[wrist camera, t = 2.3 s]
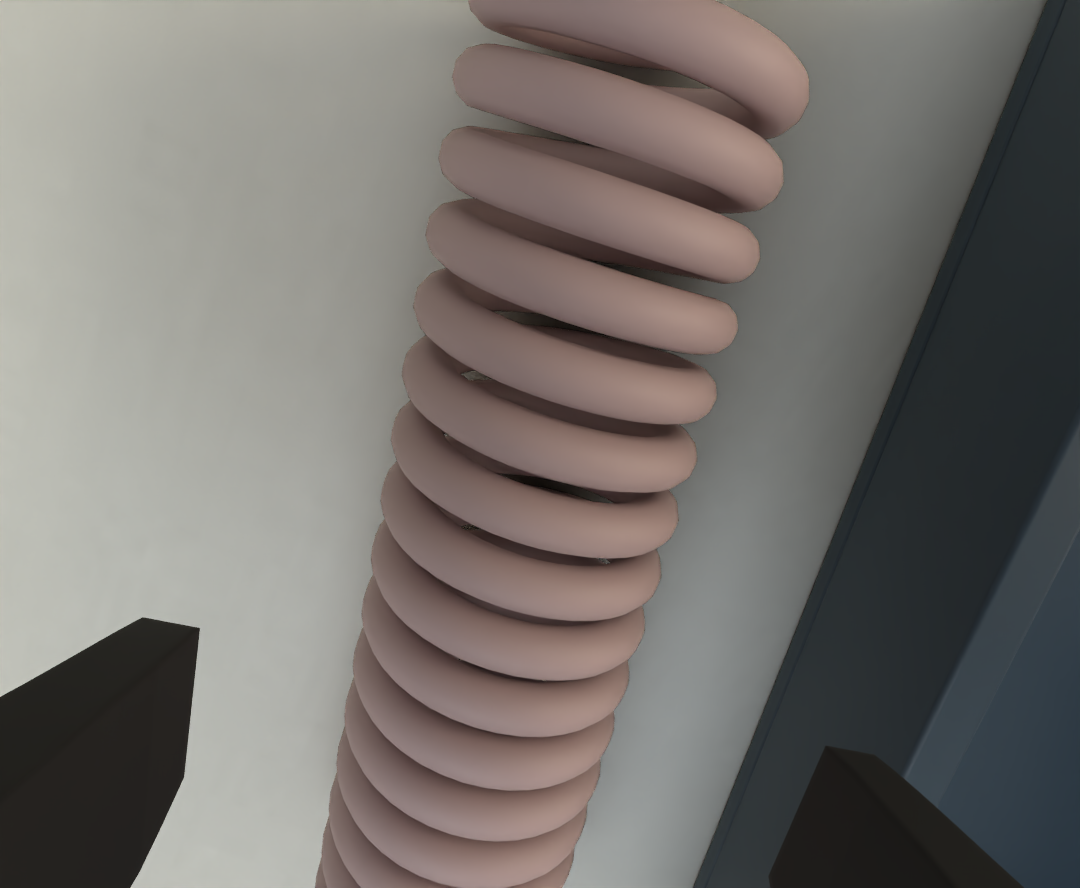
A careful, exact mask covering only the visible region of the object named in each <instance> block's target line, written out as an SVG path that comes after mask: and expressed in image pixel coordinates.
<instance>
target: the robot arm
mask: <svg viewBox="0 0 1080 888" xmlns="http://www.w3.org/2000/svg"><path fill="white" fill-rule="evenodd" d="M199 631H200V628H196V627H191V626H186V625H180V624H175V623H170V622H164V621H159V620H154V619H148V618H143V617H142V618H141V619H139V620H137V621H135V622H133V623H131V624H129V625H127V626H126V627H124V628H122V629H120V630H118V631H117V632H115V633H113V634H111V635H109V636H108V637H106V638H104V639H102V640H101V641H99V642H97V643H95V644H94V645H92V646H90V647H88V648H87V649H85V650H83V651H81V652H80V653H78V654H76V655H74V656H73V657H71V658H69V659H67V660H66V661H64V662H62V663H60V664H59V665H57V666H55V667H53V668H52V669H50V670H48V671H46V672H44V673H43V674H41V675H39V676H37V677H36V678H34V679H32V680H30V681H28V682H27V683H25V684H23V685H21V686H19V687H18V688H16V689H14V690H12V691H10V692H9V693H7V694H5V695H3V696H1V697H0V888H130V887H131V885H132V884H133V882H134V880H135V879H136V877H137V875H138V873H139V872H140V870H141V868H142V866H143V864H144V862H145V859H146V857H147V855H148V853H149V851H150V849H151V847H152V845H153V843H154V841H155V839H156V837H157V835H158V832H159V830H160V828H161V826H162V824H163V822H164V820H165V817H166V815H167V813H168V811H169V809H170V807H171V804H172V802H173V800H174V798H175V796H176V794H177V791H178V789H179V787H180V785H181V783H182V780H183V778H184V772H185V763H186V753H187V744H188V734H189V725H190V716H191V706H192V697H193V687H194V678H195V669H196V659H197V650H198V640H199ZM768 878H769V883H770V888H1024V887H1023V886H1022V885H1021V884H1020V883H1019V882H1018V881H1016V880H1015V879H1014V878H1013V877H1012V876H1011V875H1010V874H1009V873H1008V872H1007V871H1006V870H1004V869H1003V868H1002V867H1001V866H1000V865H999V864H998V863H997V862H996V861H995V860H994V859H992V858H991V857H990V856H989V855H988V854H987V853H986V852H985V851H984V850H983V849H982V848H980V847H979V846H978V845H977V844H976V843H975V842H974V841H973V840H972V839H971V838H970V837H968V836H967V835H966V834H965V833H964V832H963V831H962V830H961V829H960V828H959V827H958V826H957V825H955V824H954V823H953V822H952V821H951V820H950V819H949V818H948V817H947V816H946V815H944V814H943V813H942V812H941V811H940V810H939V809H938V808H937V807H936V806H935V805H933V804H932V803H931V802H930V801H929V800H928V799H927V798H926V797H924V796H923V795H922V794H921V793H920V792H919V791H918V790H917V789H915V788H914V787H913V786H912V785H911V784H910V783H909V782H907V781H906V780H905V779H904V778H903V777H902V776H900V775H899V774H898V773H897V772H896V771H894V770H893V769H892V768H891V767H890V766H888V765H887V764H886V763H885V762H883V761H882V760H881V759H879V758H878V757H877V756H876V755H874V754H869V753H863V752H858V751H853V750H847V749H842V748H837V747H831V746H825V748H824V750H823V752H822V755H821V757H820V759H819V762H818V764H817V766H816V768H815V771H814V773H813V775H812V778H811V780H810V782H809V784H808V787H807V789H806V791H805V793H804V796H803V798H802V800H801V803H800V805H799V807H798V809H797V812H796V814H795V816H794V819H793V821H792V823H791V825H790V828H789V830H788V832H787V835H786V837H785V839H784V841H783V844H782V846H781V848H780V851H779V853H778V855H777V857H776V860H775V862H774V864H773V866H772V869H771V871H770V873H769V876H768Z"/></svg>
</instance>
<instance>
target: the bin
mask: <svg viewBox="0 0 1080 888" xmlns="http://www.w3.org/2000/svg"><path fill="white" fill-rule="evenodd" d="M825 746H831V747H837V748H842V749H847V750H853V751H858V752H863V753H869V754H874V755H876V756H877V757H878V758H879V759H881V760H882V761H883V762H885V763H886V764H887V765H888V766H890V767H891V768H892V769H893V770H894V771H896V772H897V773H898V774H899V775H900V776H902V777H903V778H904V779H905V780H906V781H907V782H909V783H910V784H911V785H912V786H913V787H914V788H915V789H917V790H918V791H919V792H920V793H921V794H922V795H923V796H924V797H926V798H927V799H928V800H929V801H930V802H931V803H932V804H933V805H935V806H936V807H937V808H938V809H939V810H940V811H941V812H942V813H943V814H944V815H946V816H947V817H948V818H949V819H950V820H951V821H952V822H953V823H954V824H955V825H957V826H958V827H959V828H960V829H961V830H962V831H963V832H964V833H965V834H966V835H967V836H968V837H970V838H971V839H972V840H973V841H974V842H975V843H976V844H977V845H978V846H979V847H980V848H982V849H983V850H984V851H985V852H986V853H987V854H988V855H989V856H990V857H991V858H992V859H994V860H995V861H996V862H997V863H998V864H999V865H1000V866H1001V867H1002V868H1003V869H1004V870H1006V871H1007V872H1008V873H1009V874H1010V875H1011V876H1012V877H1013V878H1014V879H1015V880H1016V881H1018V882H1019V883H1020V884H1021V885H1022V886H1023V887H1024V888H1080V0H1048V1H1047V3H1046V6H1045V8H1044V11H1043V13H1042V16H1041V18H1040V21H1039V23H1038V26H1037V28H1036V31H1035V33H1034V36H1033V38H1032V41H1031V43H1030V46H1029V48H1028V51H1027V53H1026V56H1025V58H1024V61H1023V63H1022V66H1021V68H1020V71H1019V73H1018V76H1017V78H1016V81H1015V83H1014V86H1013V88H1012V91H1011V93H1010V96H1009V98H1008V101H1007V103H1006V106H1005V108H1004V111H1003V113H1002V116H1001V118H1000V121H999V123H998V126H997V128H996V131H995V134H994V136H993V139H992V141H991V144H990V146H989V149H988V151H987V154H986V156H985V159H984V161H983V164H982V166H981V169H980V171H979V174H978V176H977V179H976V181H975V184H974V186H973V189H972V191H971V194H970V196H969V199H968V201H967V204H966V206H965V209H964V211H963V214H962V216H961V219H960V221H959V224H958V226H957V229H956V231H955V234H954V236H953V239H952V241H951V244H950V246H949V249H948V251H947V254H946V256H945V259H944V261H943V264H942V266H941V269H940V271H939V274H938V276H937V279H936V281H935V284H934V286H933V289H932V291H931V294H930V296H929V299H928V301H927V304H926V306H925V309H924V311H923V314H922V316H921V319H920V321H919V324H918V326H917V329H916V331H915V334H914V336H913V339H912V341H911V344H910V346H909V349H908V352H907V354H906V357H905V359H904V362H903V364H902V367H901V369H900V372H899V374H898V377H897V379H896V382H895V384H894V387H893V389H892V392H891V394H890V397H889V399H888V402H887V404H886V407H885V409H884V412H883V414H882V417H881V419H880V422H879V424H878V427H877V429H876V432H875V434H874V437H873V439H872V442H871V444H870V447H869V449H868V452H867V454H866V457H865V459H864V462H863V464H862V467H861V469H860V472H859V474H858V477H857V479H856V482H855V484H854V487H853V489H852V492H851V494H850V497H849V499H848V502H847V504H846V507H845V509H844V512H843V514H842V517H841V519H840V522H839V524H838V527H837V529H836V532H835V534H834V537H833V539H832V542H831V544H830V547H829V549H828V552H827V554H826V557H825V559H824V562H823V564H822V567H821V570H820V572H819V575H818V577H817V580H816V582H815V585H814V587H813V590H812V592H811V595H810V597H809V600H808V602H807V605H806V607H805V610H804V612H803V615H802V617H801V620H800V622H799V625H798V627H797V630H796V632H795V635H794V637H793V640H792V642H791V645H790V647H789V650H788V652H787V655H786V657H785V660H784V662H783V665H782V667H781V670H780V672H779V675H778V677H777V680H776V682H775V685H774V687H773V690H772V692H771V695H770V697H769V700H768V702H767V705H766V707H765V710H764V712H763V715H762V717H761V720H760V722H759V725H758V727H757V730H756V732H755V735H754V737H753V740H752V742H751V745H750V747H749V750H748V752H747V755H746V757H745V760H744V762H743V765H742V767H741V770H740V772H739V775H738V777H737V780H736V782H735V785H734V787H733V790H732V793H731V795H730V798H729V800H728V803H727V805H726V808H725V810H724V813H723V815H722V818H721V820H720V823H719V825H718V828H717V830H716V833H715V835H714V838H713V840H712V843H711V845H710V848H709V850H708V853H707V855H706V858H705V860H704V863H703V865H702V868H701V870H700V873H699V875H698V878H697V880H696V883H695V885H694V888H770V883H769V878H768V876H769V873H770V871H771V869H772V866H773V864H774V862H775V860H776V857H777V855H778V853H779V851H780V848H781V846H782V844H783V841H784V839H785V837H786V835H787V832H788V830H789V828H790V825H791V823H792V821H793V819H794V816H795V814H796V812H797V809H798V807H799V805H800V803H801V800H802V798H803V796H804V793H805V791H806V789H807V787H808V784H809V782H810V780H811V778H812V775H813V773H814V771H815V768H816V766H817V764H818V762H819V759H820V757H821V755H822V752H823V750H824V748H825Z"/></svg>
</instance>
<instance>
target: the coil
mask: <svg viewBox="0 0 1080 888" xmlns="http://www.w3.org/2000/svg"><path fill="white" fill-rule="evenodd" d="M468 1H469V5H470V9H471V11H472V13H473V14H474V15H475V16H476V17H477V18H478V20H479V21H480V22H481V23H482V24H483V25H484V26H485V27H487V28H489V29H491V30H493V31H495V32H497V33H500V34H502V35H505V36H508V37H511V38H513V39H517V40H520V41H523V42H526V43H529V44H533V45H536V46H540V47H543V48H547V49H550V50H554V51H558V52H562V53H566V54H570V55H575V56H579V57H584V58H589V59H594V60H599V61H604V62H610V63H615V64H621V65H628V66H635V67H642V68H650V69H658V70H669V71H675V72H677V73H679V74H682V75H684V76H687V77H689V78H691V79H694V80H696V81H698V82H700V83H702V84H705V85H707V86H709V87H711V88H713V89H699V88H678V87H665V86H655V85H646V84H642V83H639V82H636V81H633V80H630V79H627V78H624V77H621V76H618V75H615V74H612V73H608V72H605V71H602V70H599V69H595V68H592V67H589V66H585V65H582V64H578V63H575V62H571V61H568V60H564V59H560V58H556V57H553V56H549V55H545V54H541V53H536V52H532V51H528V50H523V49H519V48H514V47H509V46H503V45H497V44H480V45H476V46H472V47H468V48H466V50H465V51H464V52H463V53H462V54H461V55H460V56H459V57H458V58H457V59H456V62H455V67H454V71H453V75H452V78H453V82H454V86H455V90H456V93H457V94H458V96H459V97H460V98H461V99H462V100H463V101H464V102H465V103H466V104H467V106H470V107H473V108H476V109H479V110H482V111H485V112H489V113H492V114H495V115H498V116H502V117H505V118H508V119H511V120H515V121H518V122H521V123H525V124H528V125H531V126H535V127H538V128H541V129H544V130H547V131H551V132H554V133H557V134H560V135H564V136H567V137H570V138H573V139H576V140H579V141H582V142H586V143H589V144H592V145H595V146H590V145H583V144H577V143H571V142H565V141H559V140H553V139H547V138H541V137H535V136H529V135H524V134H518V133H512V132H506V131H500V130H494V129H488V128H482V127H474V126H466V127H462V128H458V129H454V130H452V131H451V132H450V133H449V134H448V135H447V137H446V138H445V139H444V140H443V141H442V145H441V149H440V153H439V162H440V166H441V169H442V173H443V175H444V176H445V177H446V178H447V179H448V180H449V181H450V182H451V183H452V184H453V185H454V186H455V187H456V188H457V189H459V190H461V191H462V192H464V193H466V194H468V195H470V196H472V197H474V198H476V199H461V200H456V201H452V202H448V203H444V204H442V205H440V206H439V207H438V208H437V209H436V210H435V211H434V212H433V213H432V214H431V215H430V217H429V221H428V225H427V229H426V238H427V242H428V245H429V248H430V251H431V252H432V254H433V255H434V256H435V257H436V258H437V259H438V260H439V261H440V262H441V263H442V264H443V265H444V266H445V267H446V268H444V269H440V270H437V271H435V272H433V273H431V274H430V275H429V276H428V277H427V278H426V279H425V280H424V281H423V282H422V283H421V284H420V285H419V286H418V287H417V291H416V295H415V299H414V306H413V308H414V311H415V314H416V317H417V321H418V323H419V325H420V328H421V329H422V330H423V332H424V333H425V334H426V335H425V336H424V337H422V338H421V339H420V340H418V341H417V342H416V343H415V344H414V345H413V346H412V347H411V348H410V350H409V351H408V352H407V354H406V357H405V361H404V365H403V370H402V378H403V381H404V384H405V387H406V390H407V393H408V396H409V398H410V401H409V402H408V403H407V404H406V405H405V406H404V407H403V408H401V409H400V411H399V412H398V414H397V416H396V418H395V421H394V425H393V429H392V436H391V442H392V446H393V450H394V454H395V456H396V459H397V461H396V462H395V464H394V465H393V466H392V467H391V468H390V469H389V471H388V473H387V476H386V478H385V481H384V484H383V488H382V494H381V505H382V510H383V515H384V517H385V519H384V520H383V522H382V523H381V524H380V526H379V528H378V531H377V533H376V535H375V539H374V542H373V546H372V554H371V563H372V569H373V576H372V577H371V579H370V582H369V584H368V587H367V589H366V592H365V596H364V599H363V607H362V620H363V628H362V631H361V633H360V636H359V639H358V642H357V645H356V648H355V652H354V661H353V672H354V678H353V681H352V684H351V687H350V690H349V693H348V696H347V700H346V707H345V728H344V731H343V734H342V737H341V740H340V743H339V746H338V754H337V773H336V776H335V779H334V783H333V786H332V789H331V794H330V803H329V817H328V821H327V824H326V827H325V831H324V834H323V844H322V858H321V861H320V865H319V868H318V872H317V876H316V886H315V888H562V887H563V885H564V883H565V881H566V879H567V877H568V875H569V872H570V869H571V866H572V862H573V857H574V846H575V844H576V843H577V841H578V839H579V837H580V835H581V833H582V830H583V827H584V824H585V821H586V814H587V802H588V801H589V799H590V798H591V796H592V794H593V792H594V790H595V788H596V785H597V782H598V779H599V776H600V763H601V762H600V757H601V756H602V754H603V753H604V752H605V750H606V748H607V746H608V744H609V742H610V739H611V736H612V733H613V731H614V718H615V717H614V709H615V708H616V707H617V705H618V704H619V703H620V701H621V699H622V697H623V695H624V693H625V691H626V688H627V685H628V682H629V665H628V659H629V658H630V657H631V656H632V654H633V653H634V652H635V651H636V649H637V647H638V645H639V643H640V641H641V639H642V636H643V634H644V631H645V620H644V612H643V607H642V605H643V604H645V603H646V602H647V601H648V600H649V599H650V598H651V597H652V596H653V594H654V592H655V590H656V588H657V586H658V584H659V581H660V579H661V565H660V557H659V555H658V552H657V550H656V548H658V547H659V546H661V545H663V544H664V543H665V542H667V541H668V540H669V539H670V538H671V536H672V534H673V532H674V530H675V528H676V526H677V523H678V521H679V518H678V508H677V501H676V499H675V498H674V496H673V494H672V493H671V492H670V490H669V489H671V488H673V487H675V486H677V485H678V484H680V483H681V482H683V481H684V480H686V479H688V478H689V477H690V475H691V473H692V471H693V469H694V467H695V465H696V463H697V452H696V445H695V442H694V441H693V440H692V438H691V437H690V436H689V434H688V433H687V432H686V430H685V429H684V428H683V427H682V426H680V425H679V424H685V423H692V422H695V421H698V420H699V419H701V418H702V417H704V416H705V415H707V414H708V413H709V412H710V411H711V409H712V407H713V405H714V403H715V401H716V399H717V392H716V383H715V381H714V380H713V379H712V377H711V376H710V374H709V373H708V372H707V370H706V369H704V368H703V367H701V366H699V365H697V364H695V363H693V362H690V361H688V360H685V359H683V358H681V357H678V356H676V355H673V354H670V353H667V352H664V351H661V350H658V349H654V348H651V347H655V348H660V349H665V350H670V351H675V352H681V353H687V354H696V355H698V354H713V353H718V352H720V351H721V350H723V349H724V348H726V347H727V346H729V345H730V344H731V343H732V341H733V339H734V337H735V335H736V333H737V331H738V326H737V316H736V314H735V313H734V311H733V310H732V309H731V307H730V306H729V304H726V303H724V302H722V301H720V300H717V299H715V298H711V297H707V296H703V295H699V294H696V293H692V292H689V291H685V290H681V289H678V288H674V287H671V286H667V285H664V284H661V283H657V282H654V281H650V280H647V279H644V278H640V277H637V276H634V275H631V274H627V273H624V272H621V271H618V270H615V269H611V268H608V267H605V266H602V265H599V264H596V263H593V262H590V261H587V260H584V259H588V260H594V261H601V262H607V263H613V264H619V265H625V266H631V267H637V268H642V269H648V270H653V271H659V272H664V273H670V274H675V275H680V276H685V277H690V278H696V279H701V280H706V281H711V282H717V283H723V284H727V283H735V282H741V281H743V280H744V279H745V278H747V277H748V276H750V275H751V274H752V273H753V272H754V270H755V268H756V266H757V264H758V262H759V260H760V251H759V243H758V241H757V239H756V238H755V237H754V235H753V234H752V232H751V231H750V229H748V228H747V227H746V226H744V225H742V224H740V223H738V222H736V221H734V220H732V219H730V218H727V217H725V216H723V215H720V214H718V213H743V212H752V211H757V210H761V209H762V208H763V207H765V206H766V205H768V204H769V203H770V202H772V201H773V200H774V199H775V198H776V197H777V195H778V193H779V191H780V189H781V187H782V185H783V183H784V181H783V163H782V161H781V159H780V158H779V156H778V155H777V154H776V152H775V151H774V149H773V148H772V147H771V145H770V144H769V143H768V142H767V141H766V140H767V139H771V138H774V137H777V136H779V135H781V134H783V133H784V132H786V131H787V130H788V129H790V128H791V127H792V126H794V125H795V124H796V123H797V122H798V121H799V120H800V118H801V117H802V115H803V113H804V111H805V109H806V106H807V104H808V102H809V77H808V75H807V72H806V70H805V68H804V66H803V65H802V63H801V62H800V61H799V59H798V58H797V57H796V55H795V54H794V53H793V52H792V50H791V49H790V48H789V47H788V46H787V45H786V44H785V43H784V42H783V41H782V40H781V39H779V38H778V37H777V36H776V35H775V34H774V33H772V32H771V31H769V30H768V29H766V28H765V27H763V26H762V25H760V24H759V23H757V22H756V21H754V20H752V19H750V18H749V17H747V16H745V15H743V14H741V13H739V12H738V11H736V10H734V9H732V8H730V7H728V6H726V5H723V4H721V3H719V2H717V1H715V0H468ZM596 146H598V147H596ZM493 311H512V312H529V313H540V314H543V315H546V316H549V317H552V318H555V319H558V320H560V321H563V322H566V323H569V324H573V325H576V326H579V327H582V328H585V329H588V330H592V331H595V332H598V333H602V334H605V335H609V336H612V337H616V338H620V339H623V340H620V339H615V338H611V337H606V336H601V335H596V334H591V333H585V332H579V331H574V330H567V329H560V328H553V327H544V326H535V325H523V324H520V323H517V322H515V321H512V320H510V319H508V318H505V317H503V316H501V315H499V314H497V313H495V312H493ZM624 340H627V341H624ZM628 341H631V342H628ZM632 342H635V343H632ZM636 343H639V344H636ZM640 344H643V345H640ZM644 345H647V346H651V347H647V346H644ZM473 370H476V371H477V372H479V373H481V374H483V375H485V376H488V377H490V378H492V379H494V380H472V381H470V380H468V379H467V378H465V377H464V376H462V375H461V374H462V373H465V372H468V371H473ZM445 433H447V434H448V435H449V436H444V434H445ZM500 474H513V475H525V476H532V477H539V478H544V479H550V480H554V481H558V482H563V483H567V484H570V485H573V486H576V487H580V488H582V489H585V490H588V491H590V492H593V493H595V494H597V495H600V496H602V497H604V498H606V499H608V500H610V501H611V502H613V503H601V502H593V501H589V500H586V499H584V498H581V497H577V496H574V495H571V494H568V493H564V492H560V491H556V490H552V489H547V488H542V487H537V486H531V485H525V484H522V483H519V482H517V481H514V480H511V479H509V478H507V477H504V476H502V475H500ZM465 525H474V526H476V527H479V528H481V529H483V530H464V529H463V528H462V527H460V526H465ZM597 558H606V559H607V560H608V561H609V562H610V563H608V564H605V563H604V562H602V561H601V560H599V559H597ZM437 578H438V579H437ZM457 659H462V660H457ZM543 680H546V681H547V682H544V681H543Z"/></svg>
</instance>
